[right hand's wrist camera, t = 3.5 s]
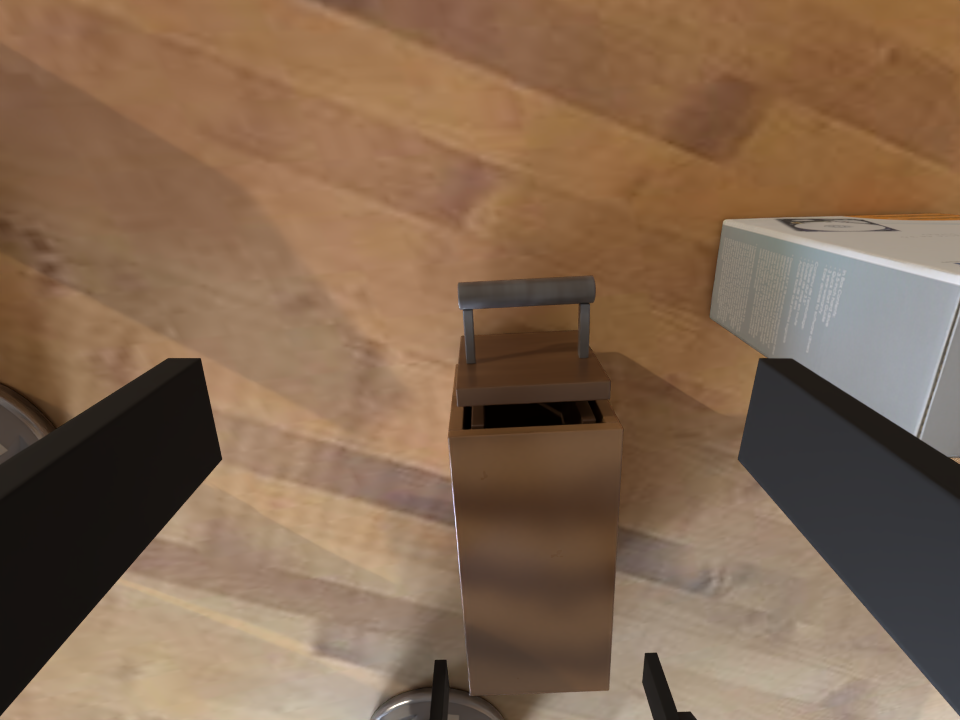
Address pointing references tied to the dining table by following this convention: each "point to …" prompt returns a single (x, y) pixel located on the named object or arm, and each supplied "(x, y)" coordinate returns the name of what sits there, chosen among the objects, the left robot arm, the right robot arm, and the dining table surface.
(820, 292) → the hard drive box
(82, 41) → the dining table surface
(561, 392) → the drawer
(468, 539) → the cabinet
